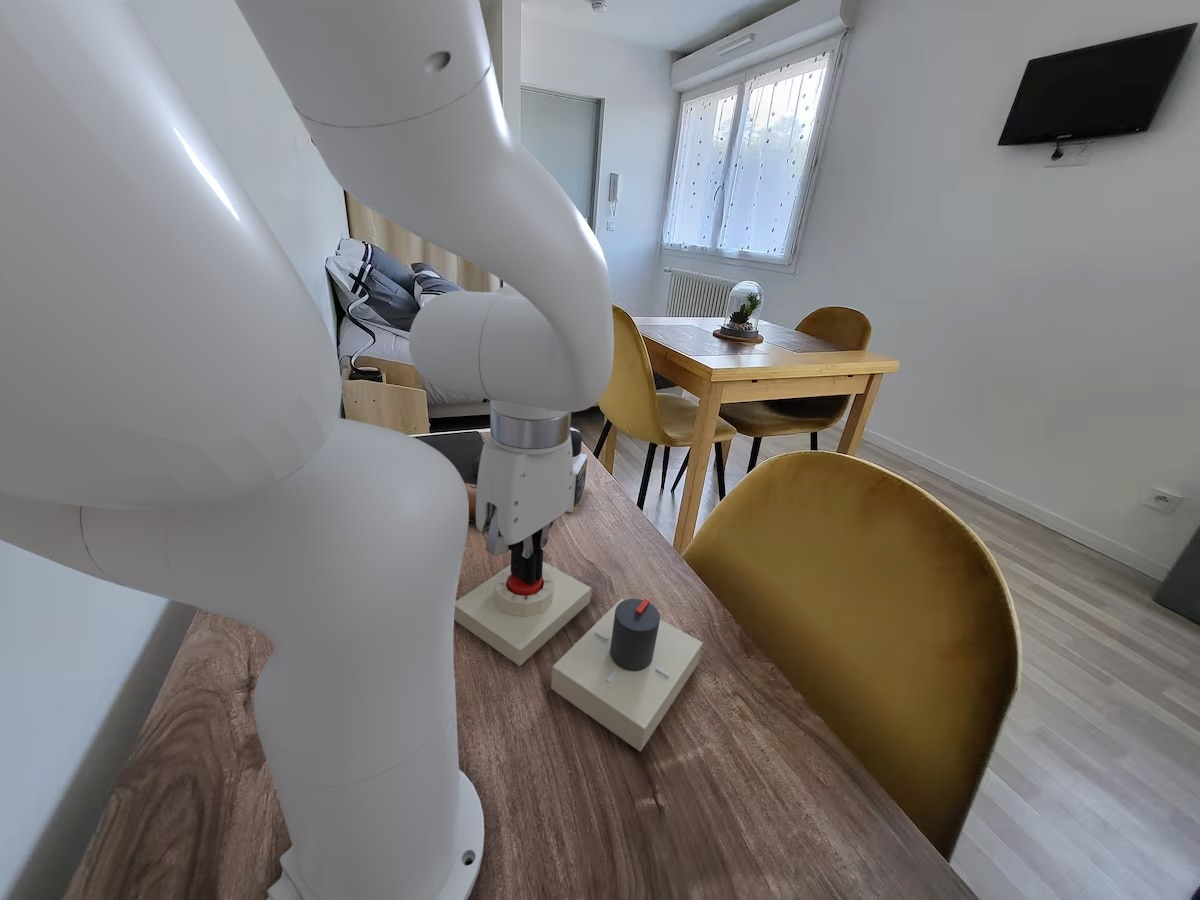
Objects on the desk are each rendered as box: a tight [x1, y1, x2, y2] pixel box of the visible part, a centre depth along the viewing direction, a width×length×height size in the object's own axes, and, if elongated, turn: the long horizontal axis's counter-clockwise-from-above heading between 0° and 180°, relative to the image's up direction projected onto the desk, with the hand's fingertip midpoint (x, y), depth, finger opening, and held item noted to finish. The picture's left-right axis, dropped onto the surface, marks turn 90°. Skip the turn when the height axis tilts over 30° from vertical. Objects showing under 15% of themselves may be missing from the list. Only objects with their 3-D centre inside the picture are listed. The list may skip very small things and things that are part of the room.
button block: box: [454, 561, 592, 667], centre depth 54 cm, size 12×10×4 cm
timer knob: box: [610, 597, 661, 671], centre depth 46 cm, size 4×4×5 cm
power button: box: [508, 574, 542, 596], centre depth 54 cm, size 4×4×2 cm
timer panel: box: [550, 598, 704, 752], centre depth 48 cm, size 12×10×3 cm
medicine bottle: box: [565, 426, 588, 514], centre depth 76 cm, size 7×7×12 cm
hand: (526, 576), depth 54 cm, fingers closed
